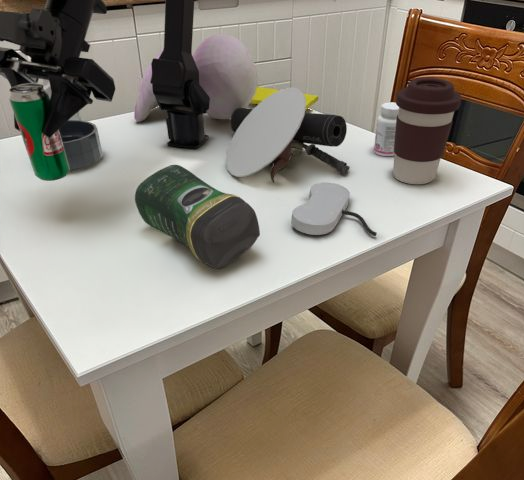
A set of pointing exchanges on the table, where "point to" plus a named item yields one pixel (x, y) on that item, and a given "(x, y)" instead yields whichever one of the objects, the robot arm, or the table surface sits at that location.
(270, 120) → the round grey base figurine
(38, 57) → the robot arm
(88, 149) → the grey ribbed bowl
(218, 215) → the coffee jar
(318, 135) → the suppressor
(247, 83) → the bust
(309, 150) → the knife
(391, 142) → the pill bottle
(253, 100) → the sign
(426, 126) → the coffee cup
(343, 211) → the game controller
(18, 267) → the table surface
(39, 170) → the soda can
